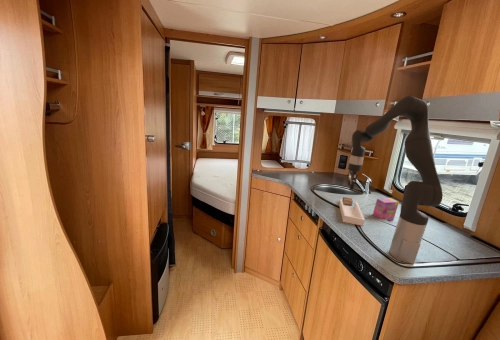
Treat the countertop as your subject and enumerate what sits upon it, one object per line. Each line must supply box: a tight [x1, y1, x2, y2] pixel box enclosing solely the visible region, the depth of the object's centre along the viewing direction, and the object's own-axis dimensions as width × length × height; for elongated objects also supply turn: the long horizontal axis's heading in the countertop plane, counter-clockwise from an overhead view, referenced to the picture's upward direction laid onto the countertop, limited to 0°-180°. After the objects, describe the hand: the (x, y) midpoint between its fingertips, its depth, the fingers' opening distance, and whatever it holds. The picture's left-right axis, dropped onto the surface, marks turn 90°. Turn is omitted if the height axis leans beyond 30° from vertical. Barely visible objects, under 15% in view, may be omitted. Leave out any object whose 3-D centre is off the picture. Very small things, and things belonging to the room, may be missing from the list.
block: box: [342, 196, 353, 207], centre depth 142 cm, size 5×5×5 cm
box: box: [372, 197, 400, 221], centre depth 127 cm, size 10×6×12 cm, turn 105°
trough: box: [338, 198, 366, 227], centre depth 127 cm, size 25×10×5 cm, turn 163°
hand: (350, 187), depth 140 cm, fingers open, 8 cm apart
